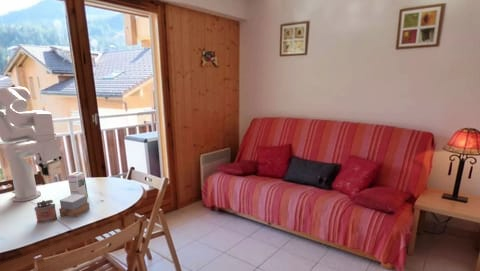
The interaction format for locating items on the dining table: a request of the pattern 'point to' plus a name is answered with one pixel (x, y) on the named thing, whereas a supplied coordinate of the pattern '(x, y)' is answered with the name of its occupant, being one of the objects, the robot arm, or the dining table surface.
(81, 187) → the syrup box
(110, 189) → the dining table surface
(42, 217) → the lighter
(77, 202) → the slate block
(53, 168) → the birch cube
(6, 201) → the dining table surface
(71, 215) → the walnut block
